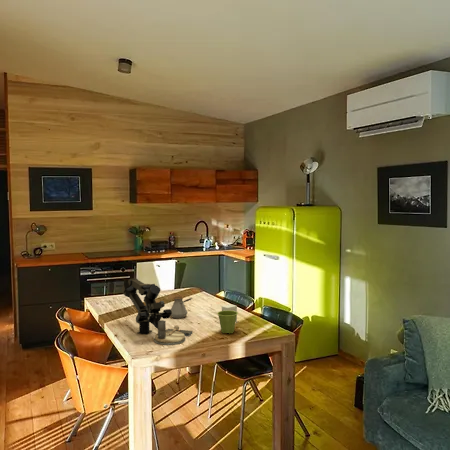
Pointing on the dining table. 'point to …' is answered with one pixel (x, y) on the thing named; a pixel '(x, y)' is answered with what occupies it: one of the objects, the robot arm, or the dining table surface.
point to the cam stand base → (186, 333)
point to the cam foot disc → (168, 333)
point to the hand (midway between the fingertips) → (158, 329)
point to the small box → (230, 308)
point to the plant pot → (227, 321)
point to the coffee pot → (179, 307)
